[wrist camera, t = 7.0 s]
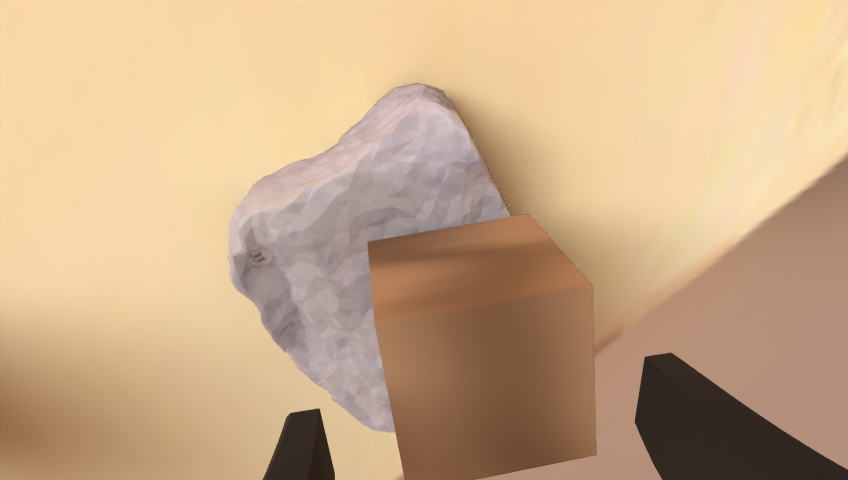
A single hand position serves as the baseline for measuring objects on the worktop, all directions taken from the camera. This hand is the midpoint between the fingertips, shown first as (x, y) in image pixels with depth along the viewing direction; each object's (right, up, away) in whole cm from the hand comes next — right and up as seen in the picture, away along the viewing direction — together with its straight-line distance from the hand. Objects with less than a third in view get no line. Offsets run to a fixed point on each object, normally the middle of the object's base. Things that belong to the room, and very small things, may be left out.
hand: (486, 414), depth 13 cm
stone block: (-3, +3, +10) cm, 11 cm away
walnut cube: (0, +2, +6) cm, 6 cm away
